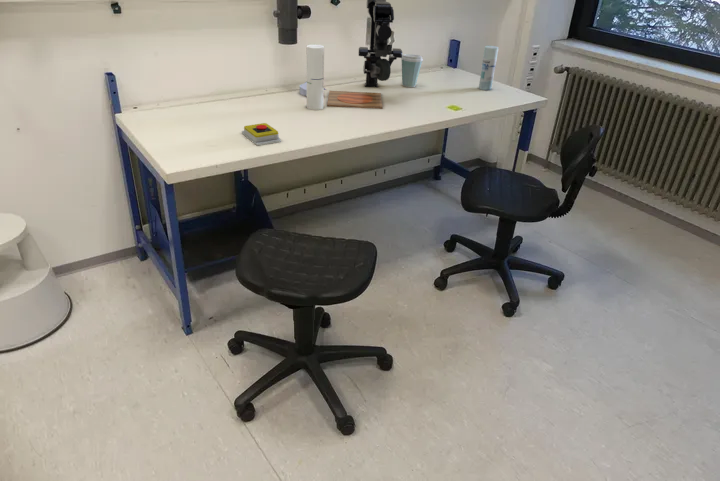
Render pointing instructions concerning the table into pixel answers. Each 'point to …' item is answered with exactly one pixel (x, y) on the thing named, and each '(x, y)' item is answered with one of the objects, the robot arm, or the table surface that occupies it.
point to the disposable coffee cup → (410, 69)
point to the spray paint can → (488, 67)
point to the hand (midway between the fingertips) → (379, 72)
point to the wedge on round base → (304, 89)
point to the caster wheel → (381, 70)
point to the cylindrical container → (315, 76)
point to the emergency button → (261, 134)
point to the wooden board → (354, 99)
